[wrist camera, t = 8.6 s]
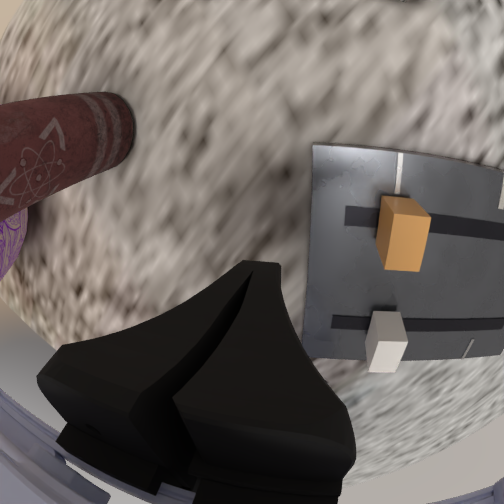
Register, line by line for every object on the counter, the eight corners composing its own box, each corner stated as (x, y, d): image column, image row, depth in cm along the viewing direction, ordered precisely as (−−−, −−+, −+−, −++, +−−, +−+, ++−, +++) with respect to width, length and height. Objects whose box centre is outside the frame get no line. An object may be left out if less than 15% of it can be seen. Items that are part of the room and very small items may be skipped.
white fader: (389, 342, 19) (395, 372, 17) (365, 341, 20) (367, 372, 17) (400, 311, 18) (408, 341, 15) (373, 310, 18) (378, 341, 16)
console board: (494, 343, 20) (500, 355, 18) (302, 342, 24) (300, 357, 22) (550, 184, 12) (562, 191, 11) (313, 142, 16) (312, 145, 15)
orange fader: (405, 246, 16) (419, 271, 13) (375, 243, 16) (384, 269, 14) (413, 198, 14) (431, 217, 12) (381, 195, 15) (394, 213, 12)
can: (125, 75, 16) (-59, 93, 4) (146, 154, 19) (-29, 239, 7) (71, 108, 18) (-80, 152, 6) (91, 177, 21) (-52, 257, 9)
